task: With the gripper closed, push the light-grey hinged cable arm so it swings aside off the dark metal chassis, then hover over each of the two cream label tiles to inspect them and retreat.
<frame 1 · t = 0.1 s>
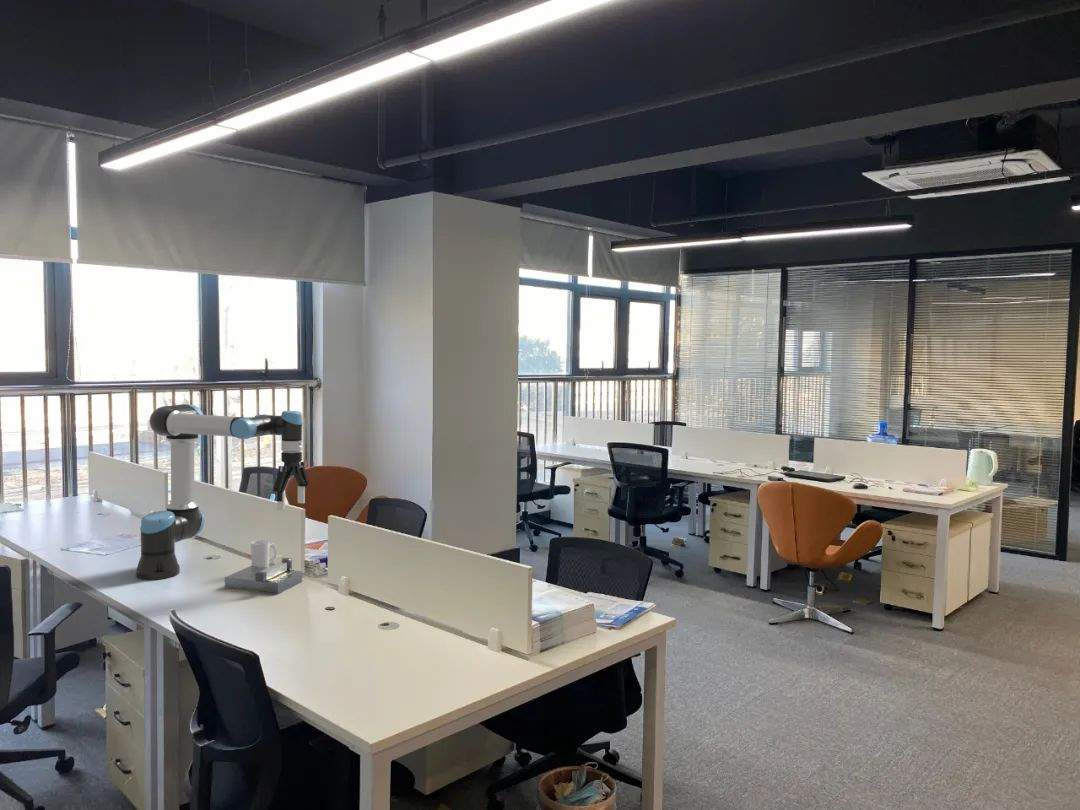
hand: (291, 506, 296), 28 cm above the table, fingers open, 13 cm apart
chassis: (264, 584, 288), on the table
cable arm: (274, 569, 286), point 7 cm above the table, hinge at 0.0°
mug: (264, 571, 305), on the table
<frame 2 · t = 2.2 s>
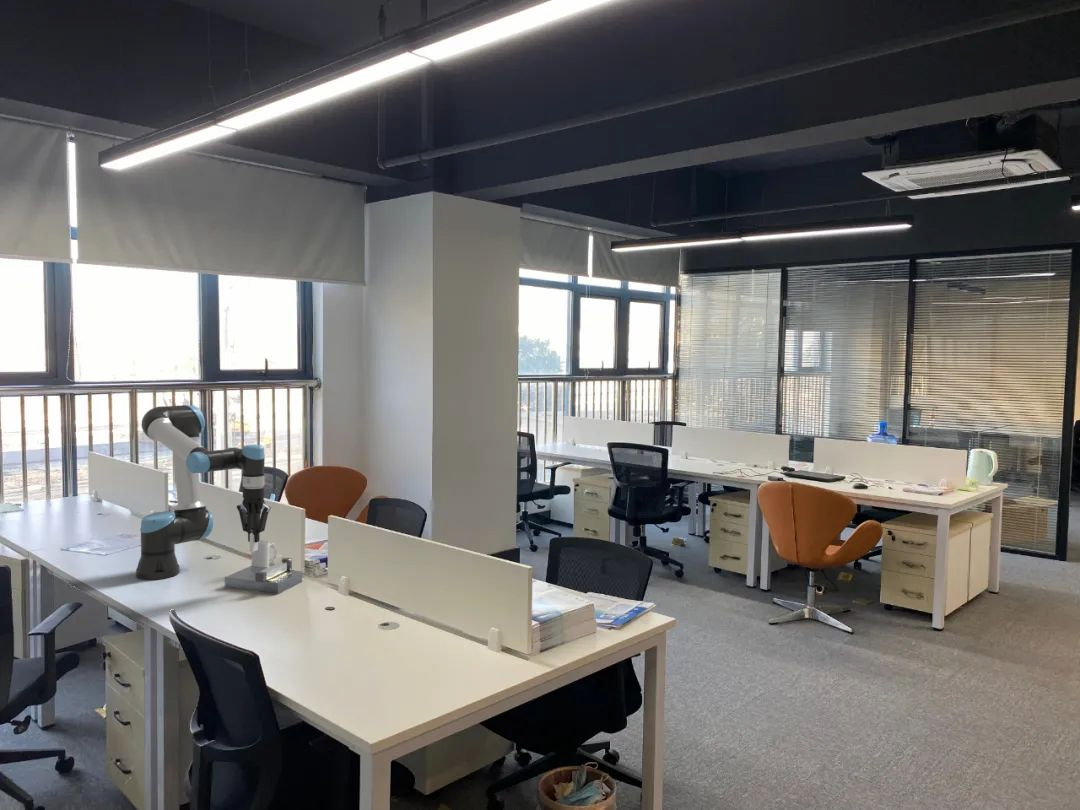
hand: (253, 550, 284), 14 cm above the table, fingers closed
nothing on the table moved.
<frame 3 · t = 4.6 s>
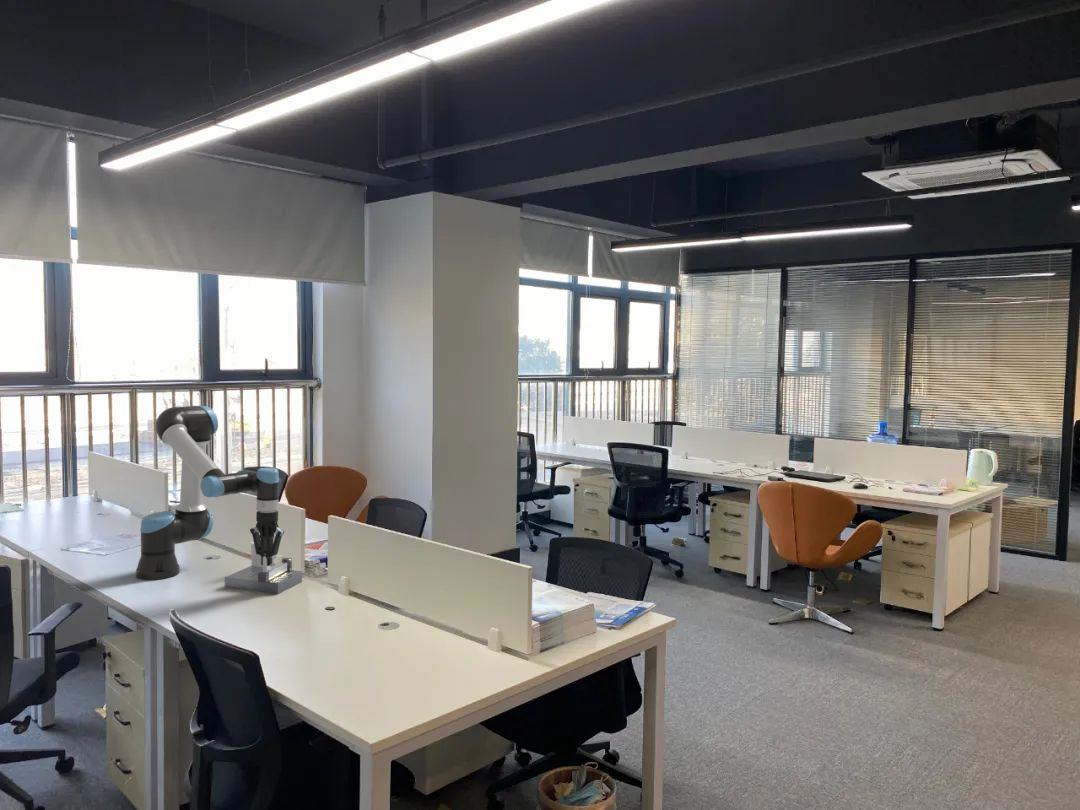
hand: (266, 574, 283), 6 cm above the table, fingers closed
cable arm: (275, 569, 286), point 7 cm above the table, hinge at 3.3°, touching gripper
everything else where it was.
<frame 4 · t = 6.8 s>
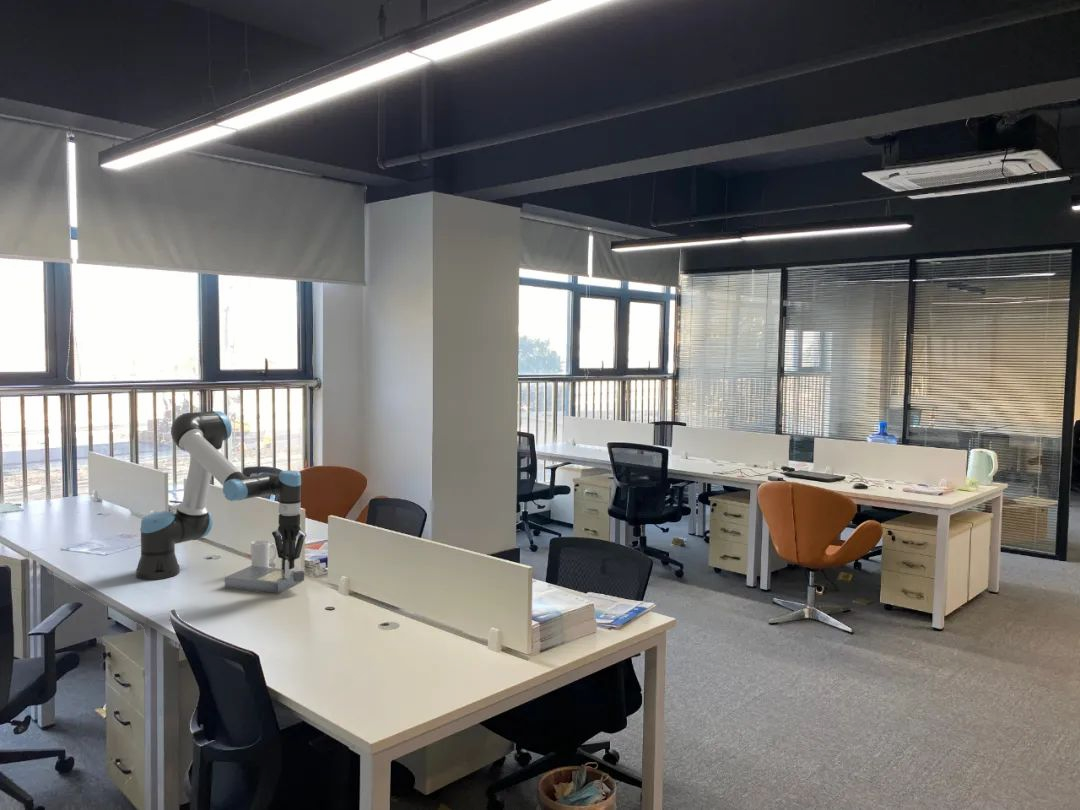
hand: (288, 577, 281), 5 cm above the table, fingers closed
cable arm: (292, 569, 287), point 7 cm above the table, hinge at 46.8°, touching gripper
everything else where it was.
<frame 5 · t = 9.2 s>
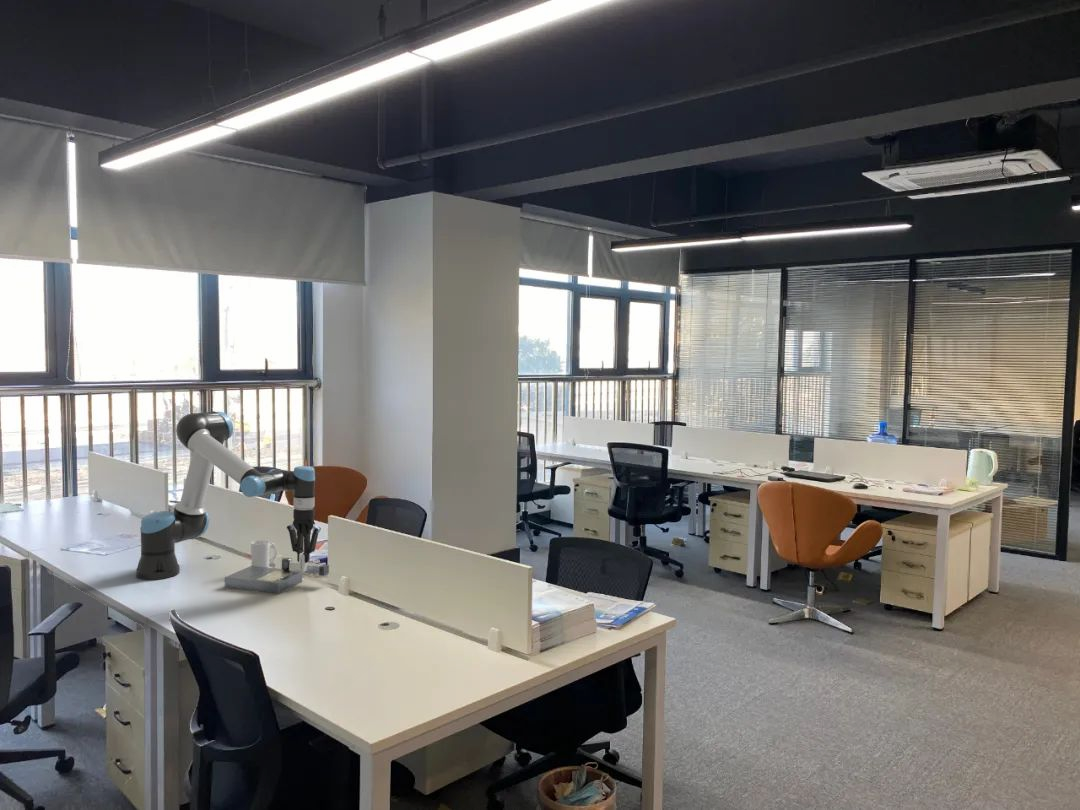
hand: (303, 570, 288), 6 cm above the table, fingers closed
cable arm: (304, 566, 291), point 7 cm above the table, hinge at 85.7°, touching gripper
everything else where it was.
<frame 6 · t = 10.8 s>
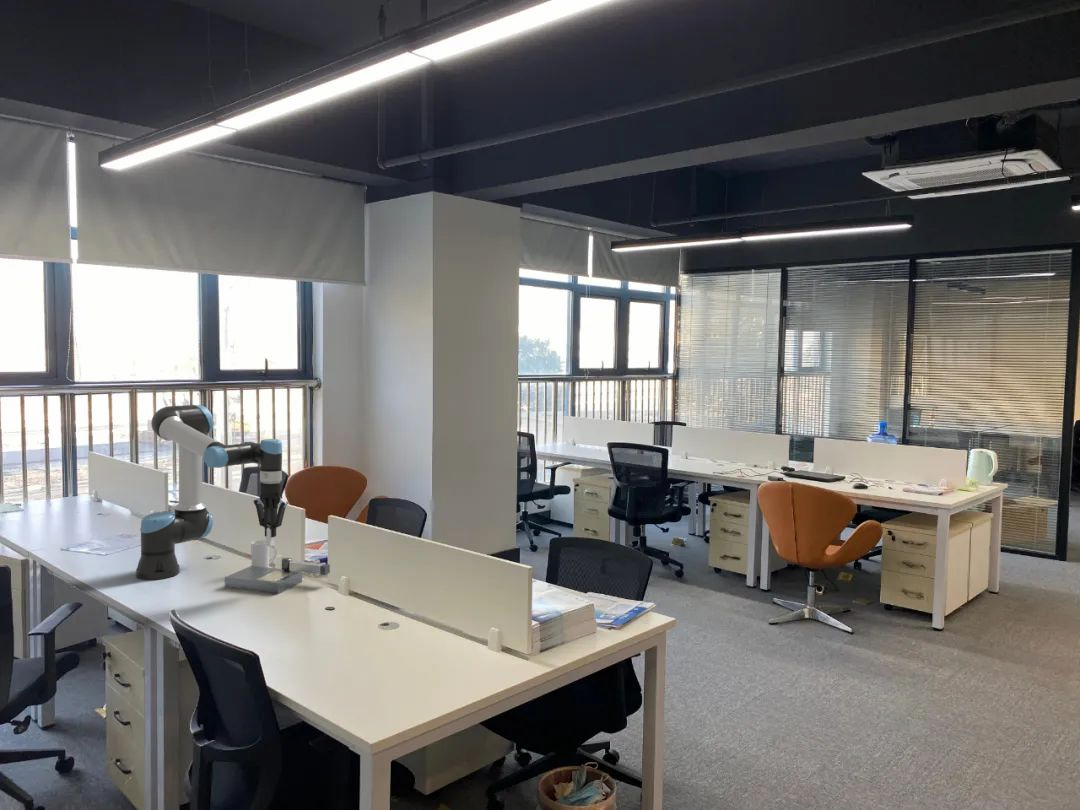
hand: (270, 545, 282), 16 cm above the table, fingers closed
cable arm: (304, 566, 291), point 7 cm above the table, hinge at 88.1°
everything else where it was.
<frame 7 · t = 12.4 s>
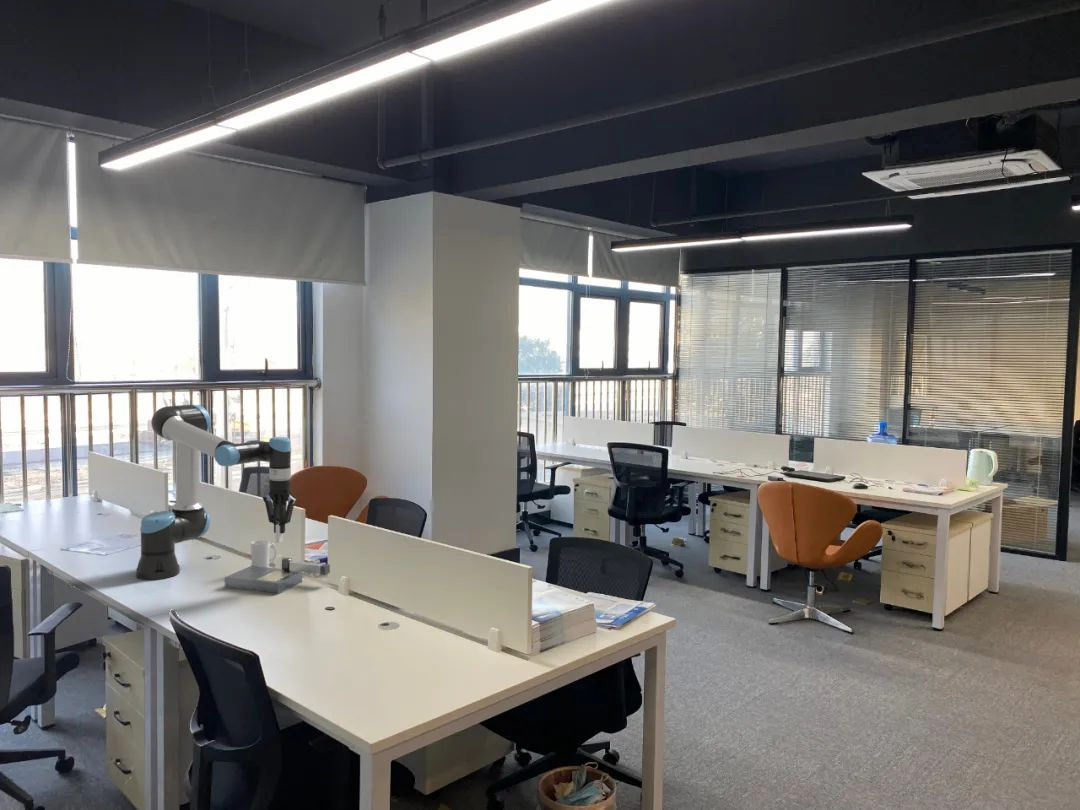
hand: (279, 541, 288), 16 cm above the table, fingers closed
nothing on the table moved.
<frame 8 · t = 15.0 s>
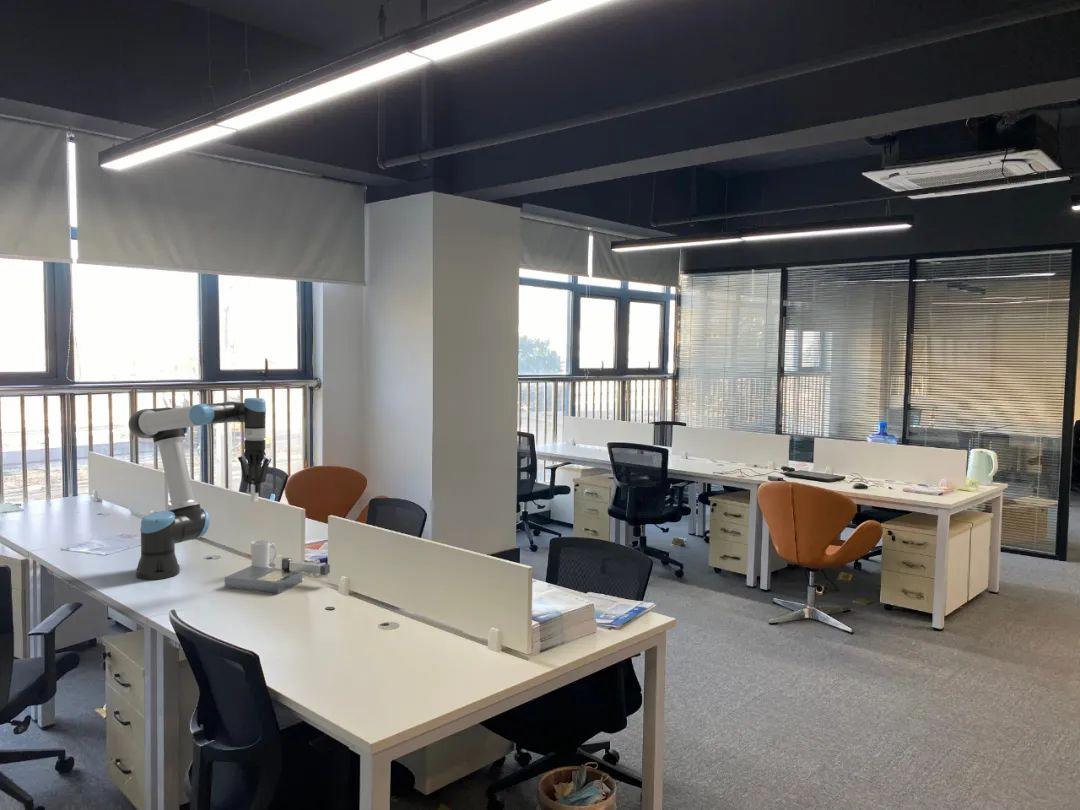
hand: (254, 501, 292), 30 cm above the table, fingers closed
nothing on the table moved.
at the end: cable arm at +88° (first picture: +0°); mug moved 0.2 cm from its start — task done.
